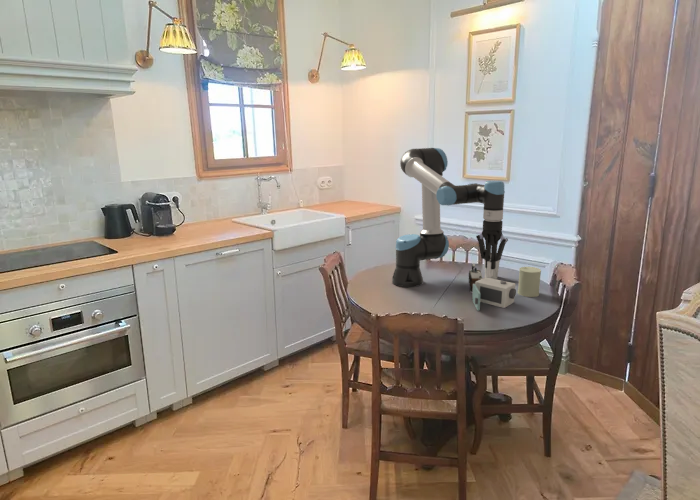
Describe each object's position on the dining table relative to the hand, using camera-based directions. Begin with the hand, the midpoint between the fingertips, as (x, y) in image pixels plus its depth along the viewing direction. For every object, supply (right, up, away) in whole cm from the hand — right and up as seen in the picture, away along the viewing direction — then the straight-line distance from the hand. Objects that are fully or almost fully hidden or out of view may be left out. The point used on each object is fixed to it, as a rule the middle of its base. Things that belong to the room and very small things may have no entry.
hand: (489, 276), depth 189 cm
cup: (+14, -3, +43) cm, 45 cm away
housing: (+5, -12, +11) cm, 17 cm away
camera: (+2, -7, +29) cm, 30 cm away
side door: (-5, -13, +6) cm, 15 cm away
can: (+23, -9, +19) cm, 32 cm away
